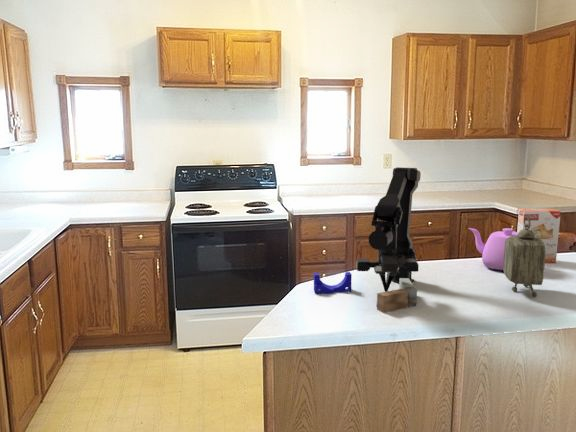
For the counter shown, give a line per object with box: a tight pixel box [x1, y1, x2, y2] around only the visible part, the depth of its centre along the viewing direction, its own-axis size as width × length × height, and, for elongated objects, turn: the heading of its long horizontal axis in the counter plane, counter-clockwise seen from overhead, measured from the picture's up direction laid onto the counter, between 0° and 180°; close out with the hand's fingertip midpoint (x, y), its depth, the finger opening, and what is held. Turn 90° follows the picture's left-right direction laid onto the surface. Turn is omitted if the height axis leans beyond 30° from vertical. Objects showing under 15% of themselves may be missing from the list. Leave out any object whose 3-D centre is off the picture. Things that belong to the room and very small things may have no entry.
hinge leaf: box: [398, 278, 418, 299], centre depth 160 cm, size 13×4×5 cm, turn 177°
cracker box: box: [516, 208, 562, 264], centre depth 203 cm, size 14×6×21 cm, turn 87°
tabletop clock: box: [503, 215, 546, 298], centre depth 166 cm, size 14×9×25 cm, turn 168°
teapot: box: [468, 227, 518, 271], centre depth 198 cm, size 23×21×15 cm
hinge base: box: [376, 288, 418, 313], centre depth 153 cm, size 13×4×5 cm, turn 117°
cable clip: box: [313, 271, 352, 295], centre depth 169 cm, size 12×4×6 cm, turn 93°
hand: (386, 291), depth 163 cm, fingers closed
